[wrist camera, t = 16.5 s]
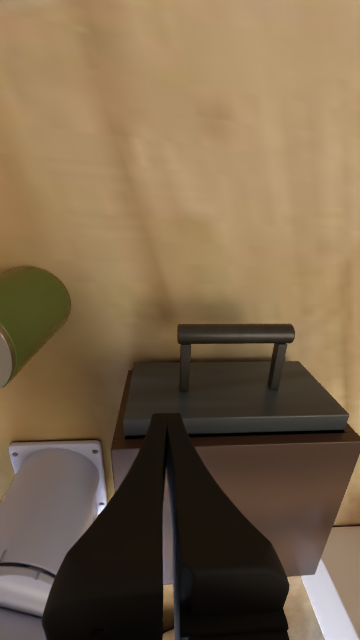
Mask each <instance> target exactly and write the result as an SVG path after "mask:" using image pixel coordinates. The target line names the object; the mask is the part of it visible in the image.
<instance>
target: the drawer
mask: <svg viewBox="0 0 360 640" xmlns="http://www.w3.org/2000/svg"><path fill="white" fill-rule="evenodd" d="M294 338H295V330H294V327H293V326H292V325H291V324H178V326H177V341H178V344H180V362H170V363H134V368H133V373H132V378H131V383H130V388H129V393H128V398H127V403H126V408H125V414H124V419H123V425H124V435H125V436H137V439H145V436H146V434H147V431H148V428H149V425H150V421H151V416H152V415H153V414H154V413H180V414H181V416H182V420H183V423H184V425H185V428H186V430H187V433H188V435H189V437H219V436H254V435H288V434H321V432H320V431H319V430H344V429H345V427H346V424H347V421H348V418H349V414H348V413H347V412H346V410H345V409H344V408H343V407H342V406H341V405H340V404H339V403H338V402H337V401H336V400H335V399H334V398H333V397H332V396H331V395H330V394H329V393H328V392H327V390H326V389H325V388H324V387H323V386H322V385H321V384H320V383H319V382H318V381H317V380H316V379H315V378H314V377H313V376H312V375H311V374H310V373H309V372H308V371H307V369H306V368H305V367H304V366H303V365H302V364H301V363H300V362H299V361H284V358H285V353H286V348H287V344H286V343H292V342H293V341H294ZM243 343H274V348H273V354H272V360H271V362H190V354H191V344H243Z"/></svg>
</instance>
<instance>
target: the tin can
mask: <svg viewBox="0 0 360 640" xmlns="http://www.w3.org/2000/svg"><path fill="white" fill-rule="evenodd" d="M70 310H71V300H70V296H69V293H68V291H67V289H66V287H65V286H64V284H63V283H62V282H61V281H60V280H59V279H58V278H57V277H56V276H55V275H53V274H52V273H50V272H48V271H46V270H44V269H41V268H37V267H19V268H15V269H12V270H10V271H7V272H4V273H1V274H0V389H2V388H3V387H5V386H6V385H7V384H8V383H9V382H10V381H11V380H12V379H13V378H14V377H15V376H16V374H17V373H18V372H19V371H20V370H21V369H22V368H23V367H24V366H25V365H26V364H27V363H28V362H29V361H30V360H31V359H32V357H33V356H34V355H35V354H36V353H37V352H38V351H39V350H40V349H41V348H42V347H43V346H44V345H45V344H46V343H47V341H48V340H49V339H50V338H51V337H52V336H53V335H54V334H55V333H56V332H57V331H58V330H59V329H60V328H61V327H62V325H63V324H64V323H65V322H66V320H67V318H68V316H69V314H70Z"/></svg>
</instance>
